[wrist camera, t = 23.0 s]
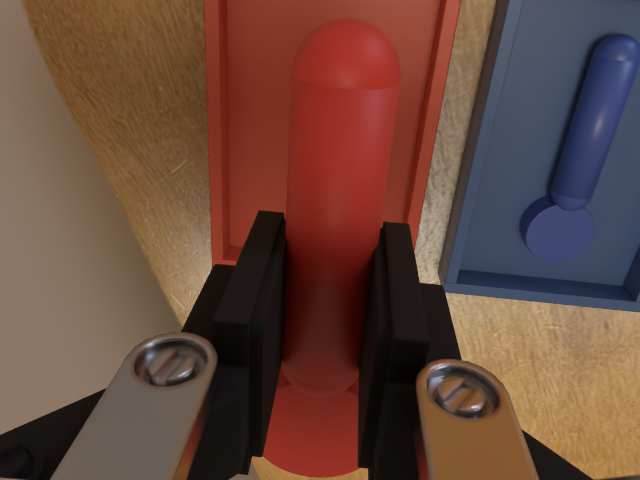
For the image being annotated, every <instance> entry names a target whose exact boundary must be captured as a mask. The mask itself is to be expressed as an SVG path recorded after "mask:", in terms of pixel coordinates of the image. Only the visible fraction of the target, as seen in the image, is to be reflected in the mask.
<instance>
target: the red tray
mask: <svg viewBox="0 0 640 480" xmlns="http://www.w3.org/2000/svg"><path fill="white" fill-rule="evenodd" d="M460 4H461V0H204V16H205V49H206V82H207V114H208V147H209V180H210V212H211V245H212V268H213V266H214V265H215V264H225V265H236V263H237V261H238V258H239V256H240V253H241V251H242V249H243V246H244V244H245V242H246V239H247V237H248V234H249V232H250V230H251V227H252V225H253V223H254V220H255V218H256V215H257V213H258V211H259V210H263V211H274V212H284V214H285V219H286V202H287V175H288V148H289V122H290V95H291V73H292V67H293V61H294V58H295V55H296V52H297V50H298V48H299V46H300V44H301V43H302V41H303V40H304V39H305V38H306V37H307V35H308V34H309V33H310V32H311V31H313V30H314V29H315V28H317V27H318V26H320V25H322V24H324V23H326V22H328V21H331V20H335V19H339V18H354V19H360V20H363V21H365V22H368V23H370V24H372V25H374V26H375V27H377V28H378V29H380V30H381V31H382V32H383V33H384V34H385V35H386V36H387V37H388V38H389V40H390V41H391V43H392V45H393V46H394V48H395V50H396V53H397V55H398V58H399V63H400V69H401V75H400V88H399V96H398V103H397V110H396V118H395V125H394V132H393V140H392V147H391V154H390V162H389V169H388V176H387V183H386V191H385V198H384V205H383V213H382V220H381V227H380V228H382V226H383V222H384V221H385V222H396V223H407V224H409V225H410V231H411V237H412V242H413V248H414V250H415V245H416V239H417V234H418V229H419V223H420V218H421V213H422V207H423V202H424V197H425V191H426V186H427V181H428V175H429V170H430V165H431V159H432V154H433V149H434V143H435V138H436V133H437V127H438V122H439V116H440V111H441V106H442V100H443V95H444V90H445V84H446V79H447V74H448V68H449V63H450V58H451V52H452V47H453V42H454V36H455V31H456V26H457V20H458V15H459V10H460Z"/></svg>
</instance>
